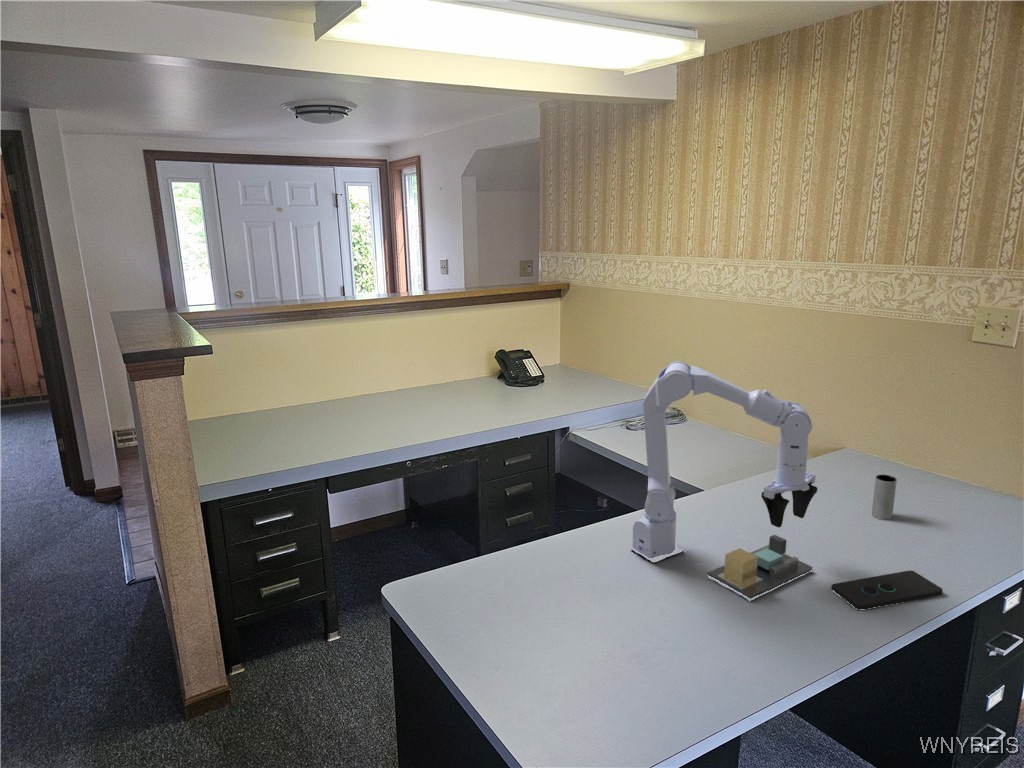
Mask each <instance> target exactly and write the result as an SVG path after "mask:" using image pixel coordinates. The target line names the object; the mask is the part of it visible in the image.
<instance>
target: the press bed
mask: <svg viewBox="0 0 1024 768" xmlns="http://www.w3.org/2000/svg"><path fill="white" fill-rule="evenodd" d="M766 548H767V549H769V544H767V545H765V546H762V547H760V548H758V549H756V550H754V551H750V553H751V554H755V553H757V552H759V551H762V550H764V549H766ZM781 555H782V556H783V560H782V562H781V563H779V564H777V565H774V566H772V567H770V570H767V569H765V568H763V567H761V566H759V565H757V575H756V579H755V580H753V581H750V582H748V583H746V584H744V585H740V584H738V583H736V582H734V581H732V580H731V579H729V578H727V577H725V576H724V569H725V564H724V565H723V566H720V567H717V568H716V569H712V570H711V571H709V572H707V575H709V576H711V577H713V578H715V579H717V580H719V581H720V582H722V583H724V584H726V585H728V586H729V587H731V588H733V589H734V590H736V591H738V592H740V593H742V594H743V595H745V596H747V597H748V598H750V599H751V598H753V597H755V596H757V595H760V594H762V593H764V592H766V591H769V590H771V589H773V588H775V587H777V586H779V585H781V584H783V583H786V582H788V581H789V580H792V579H794V578H796V577H798V576H800V575H802V574H805V573H807V572H809V571H811V570H812V571H813V566H812V565H809V564H807V563H805V562H803V561H801V560H799V557H796V556H790V555H788V554H785V553H784V554H781Z"/></svg>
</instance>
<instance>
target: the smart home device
mask: <svg viewBox="0 0 1024 768" xmlns="http://www.w3.org/2000/svg"><path fill="white" fill-rule="evenodd" d="M830 587H831V588H830V590H831V589H832V590H834V591H835V592H836V593H837V594H839V595H840V596H841V597H842V598H843V599H845V600H846V601H848V602H849V603H850V604H852V605H853V606H854V607H855V608H857V609H867V610H869V609H868V608H872V609H874V608H873V607H878V606H883V607H886V606H885V605H888V606H892V605H891V604H893V605H897V604H896V603H899V604H902V602H904V603H908V602H914V601H920V600H925V599H930V598H935V597H940V596H942V595H943V590H944V589H943V588H942V587H940V586H939V585H938V584H936V583H934V582H932V581H931V580H930V579H927V578H925V577H924V576H923V575H921V574H919V573H917V572H916V571H914V570H904V571H899V572H898V571H897V572H893V573H887V574H882V575H876V576H870V577H865V578H859V579H853V580H848V581H842V582H841V581H840V582H836V583H833V584H831V585H830ZM842 598H841V599H842ZM843 599H842V600H843ZM846 601H845V602H846ZM850 604H849V605H850ZM854 607H853V608H854ZM855 608H854V609H855ZM878 608H879V607H878Z"/></svg>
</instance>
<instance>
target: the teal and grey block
mask: <svg viewBox="0 0 1024 768" xmlns="http://www.w3.org/2000/svg"><path fill="white" fill-rule="evenodd" d="M768 545H769V549H767V548H766V549H764V550H762V551H759V552H757V553H755V554H753V555H755V556H757V557H758V560H757V565H759V566H761V567H763V568H765V569H767V570H770V567H772V566H774V565H777V564H779V563H781V562H782V560H783V556H782V555H781V554H785V553H786V551H787V539H786V538H783V537H780V536H779V535H776V534H773V535H771V536H769V541H768Z"/></svg>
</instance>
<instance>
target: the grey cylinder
mask: <svg viewBox="0 0 1024 768" xmlns="http://www.w3.org/2000/svg"><path fill="white" fill-rule="evenodd" d="M896 489H897V478H896V477H894V476H892V475H888V474H877V475H876V476H875V481H874V491H873V498H872V508H871V509H872V510H871V516H872V517H874V518H876V519H879V520H886V521H887V520H891V519H893V515H894V505H895V496H896Z"/></svg>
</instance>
